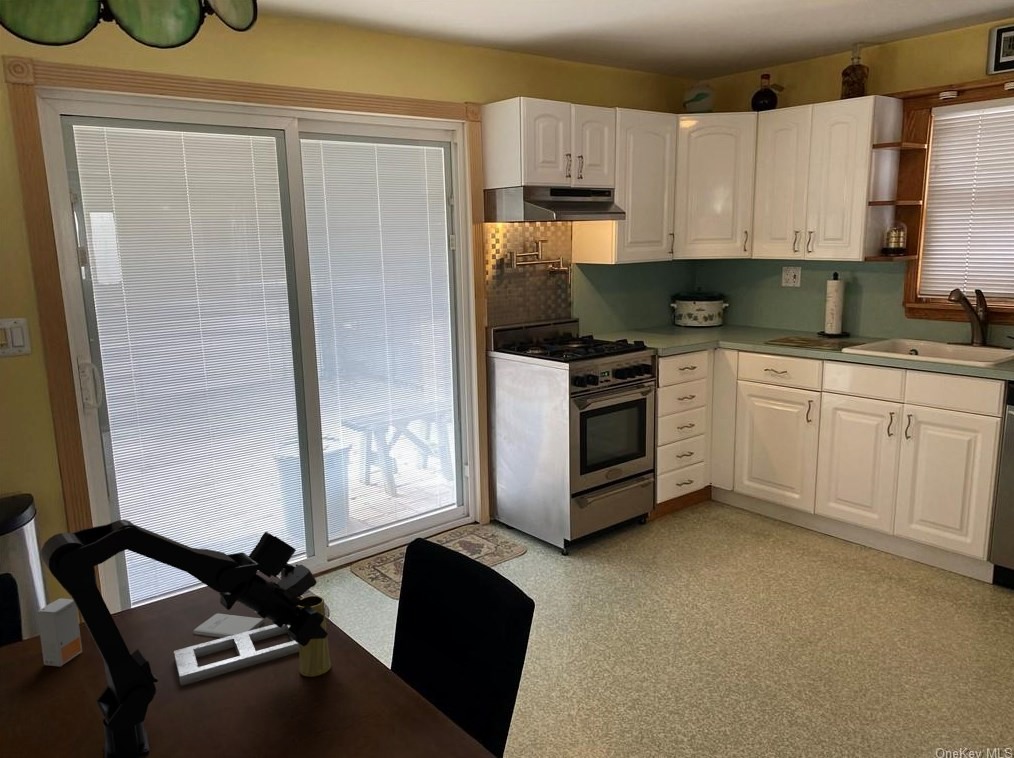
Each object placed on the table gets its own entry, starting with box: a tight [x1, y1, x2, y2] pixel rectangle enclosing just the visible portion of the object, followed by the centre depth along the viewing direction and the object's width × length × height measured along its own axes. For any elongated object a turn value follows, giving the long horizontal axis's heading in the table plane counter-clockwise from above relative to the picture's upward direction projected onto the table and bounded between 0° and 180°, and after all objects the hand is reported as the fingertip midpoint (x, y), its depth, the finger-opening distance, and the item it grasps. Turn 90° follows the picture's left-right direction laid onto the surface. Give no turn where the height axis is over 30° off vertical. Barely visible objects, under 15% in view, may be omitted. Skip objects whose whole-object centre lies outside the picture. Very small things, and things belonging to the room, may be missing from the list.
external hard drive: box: [193, 613, 265, 639], centre depth 164 cm, size 2×8×12 cm
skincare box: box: [36, 598, 83, 667], centre depth 152 cm, size 6×4×12 cm
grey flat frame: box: [173, 623, 299, 687], centre depth 153 cm, size 11×26×2 cm, turn 120°
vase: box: [297, 595, 332, 678], centre depth 145 cm, size 6×6×14 cm
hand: (319, 630), depth 146 cm, fingers closed on vase, 5 cm apart
